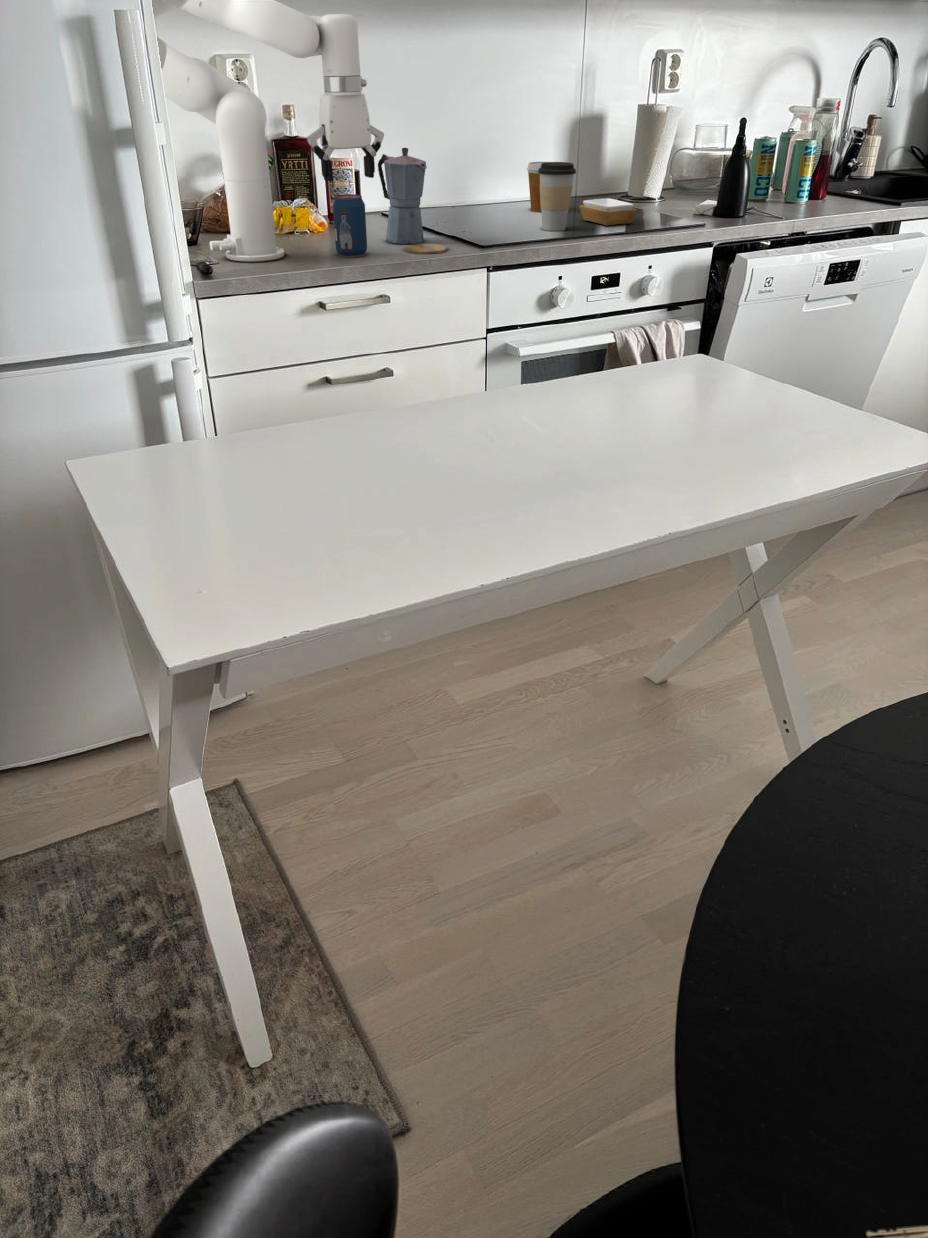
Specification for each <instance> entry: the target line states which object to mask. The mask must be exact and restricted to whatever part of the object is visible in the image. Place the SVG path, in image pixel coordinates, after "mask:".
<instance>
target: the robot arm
mask: <svg viewBox="0 0 928 1238" xmlns="http://www.w3.org/2000/svg"><path fill="white" fill-rule="evenodd" d="M152 7H153V14H154V18H153V19H155V18H157V17H159V16H161V15H163V14H166V13H168V12H170V11H171V10H174V9H175V8H178V9H180V10H182V11H184V12H187V13H189V14H192V15H194V16H196V17H198V18H200V19H203V20H205V21H207V22H210V23H212V24H214V25H216V26H218V27H221V28H223V29H225V30H228V31H229V32H232V33H237V34H240V35H243V36H246V37H248V38H250V39H253V40H255V41H257V42H259V43H262V44H264V45H266V46H269V47H271V48H273V49H276V50H277V51H280V52H282V53H285V54H286V55H288V56H290V57H293V58H296V59H306V58H310V57H311V58H312V57H317V56H321V63H322V78H323V89H324V90H323V91H324V94H320V97H319V112H318V113H319V115H318V117H319V118H318V128H317V129H316V130H315V131H313V132H312V133H311V134H309V135H308V136H307V137H306V141H307V143H308V145H309V146H310V149H311V151H312V152H313V154H315V155H316V156H317V158H318V159H319V160H320V166H321V176H322V177H323V180H324V181H327V182H333V181H334V173H333V161H332V160H331V159H330V157H331V155H332V154H333V153H334V151H335V150H349V149H361V150H362V152H363V153H364V154H365V155H364V156H363V171H364V177H366V178H370V179H374V178H375V172H376V168H375V167H376V166H375V165H376V163H375V158H376V156H377V153H378V151H379V150H380V149H381V147H382V143H383V140H384V137H385V133H384V132H383V131H382V130H380V129H378V128H377V127H375V126H373V125H371V122H370V113H369V108H368V104H367V99H366V95H365V93H362V92H363V88H366V87H367V85H368V83H367V80H366V79H365V78H364V79H363V78H362V75H361V63H360V62H361V60H360V46H359V45H360V44H359V28H358V21H357V19H356V17H355V16H354V15H353V14H348V13H331V14H329V13H327V14H323V15H321V16H318V15H311V14H306V13H304V12H302V11H299V10H297V9H294V8H292V7H290V6H288V5H287V4H284V3H281V2H279V1H277V0H152ZM157 41H158V47H159V55H160V61H161V68H162V74H163V83H164V90H165V96H164V97H165V98H167V99H169V101H171V102H173V103H174V104H175V105H177V106H178V107H180V108H181V109H183V110H185V111H187V112H191V113H197V114H199V116H201V117H203V118H205V119H206V120H207V121H209V122H211V123H213V124H214V125H215V128H216V135H217V136H216V137H217V141H218V142H217V143H218V147H219V152H220V153H219V154H220V159H221V165H222V175H223V176H222V177H223V181H224V190H225V198H226V205H227V215H228V223H229V231H230V234H226V237H225V238H223V240H210V241H209V248H210V251H212V252H214V251H221V252H223V251H224V252H225V258H226V259H228V260H230V261H235V262H249V263H251V262H254V263H255V262H267V261H274V260H279V259H282V258H284V256H285V250H284V248H281V247H279V246H277V236H276V226H275V225H276V224H275V216H274V206H273V195H272V186H271V185H272V184H271V177H270V167H269V166H270V165H269V158H268V157H269V156H268V147H267V140H266V129H265V128H266V126H267V111H266V107H265V106H264V103H263V102H262V100H261V99H260V97H258V95H257V94H255V92H252V91H251V90H249V89H248V88H247V87H245V86H244V85H242V84H240V83H239V82H237V81H236V80H235V79H233V78H231V77H230V76H228V75H227V74H225V73H224V72H222V71H221V70H219V69H218V68H216V67H214V66H213V65H212V64H210V63H208V62H207V61H205V60H203V59H201V58H199V57H198V58H197V57H190V56H188V55H186V54H184V53H182V52H180V51H179V50H178V49H176V48H175V47H173V46H171V45H169V44H168V43H166V42H165V41H164V40H163V39H161V38H160V37H159V36H157ZM372 135H373V136H374V140H373V142H372ZM318 140H319V143H320V146H321V147H322V148H321V147H320V146H319V143H318Z"/></svg>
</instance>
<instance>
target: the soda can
mask: <svg viewBox="0 0 928 1238" xmlns="http://www.w3.org/2000/svg"><path fill="white" fill-rule="evenodd" d="M334 198H335V199H334V200H333V203H332V212H333V213H332V214H333V215H332V216H333V228H334V229H333V230H334V240H335V241H334V243H335V251H336V252H337V254H338V256H339V257H342V258H359V257H360V258H361V257H364V256H365V254H366V252H367V250H368V236H367V235H368V234H367V219H366V218H367V217H366V204H365V202H364V199H363V195H361V194H352V193H346V194H345V193H344V194H337V195H335V196H334Z"/></svg>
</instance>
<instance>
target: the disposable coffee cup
mask: <svg viewBox="0 0 928 1238" xmlns="http://www.w3.org/2000/svg"><path fill="white" fill-rule="evenodd" d="M545 162H546V161H530V162H528V164H527V167H526V171H527V174H528V188H529V201H530V211H531V212H536V213H541V204H540V173H538V171H539V168H541V164H542V163H545Z"/></svg>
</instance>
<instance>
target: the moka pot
mask: <svg viewBox="0 0 928 1238" xmlns="http://www.w3.org/2000/svg"><path fill="white" fill-rule="evenodd" d="M401 154H402V155H399V156H388V155H386V154H384V153H383V154H381V158H380V159H379V160H378V162H377V172H378V176H379V179H380V183H381V187H382V191H383V192H382V193H383V198H384V199H387V200H389V207H388V217H387V225H386V234H385V240H386V241H387V242H388V243H392V244H396V245H417V244H422V242H423V241H424V240H425V239H424V230H423V219H422V210H421V207H420V206H421V199H422V197H423V192H424V184H425V175H426V169H428V165H427V161H426V160H423V159H420V158H417V157H414V156H410V155H409V148H408V147H402V148H401ZM383 165H384V170H383Z"/></svg>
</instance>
